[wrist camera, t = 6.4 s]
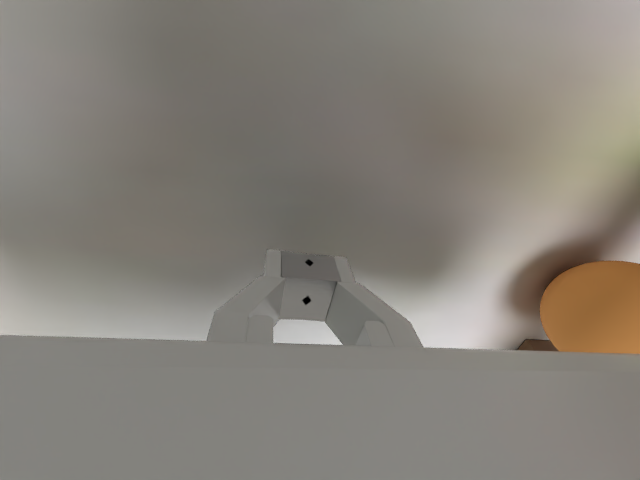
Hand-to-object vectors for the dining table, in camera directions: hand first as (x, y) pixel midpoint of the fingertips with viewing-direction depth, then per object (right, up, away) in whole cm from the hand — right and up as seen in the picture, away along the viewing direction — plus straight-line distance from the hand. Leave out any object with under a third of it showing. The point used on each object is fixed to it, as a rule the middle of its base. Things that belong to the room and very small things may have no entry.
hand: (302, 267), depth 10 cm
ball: (+14, -3, +2) cm, 15 cm away
